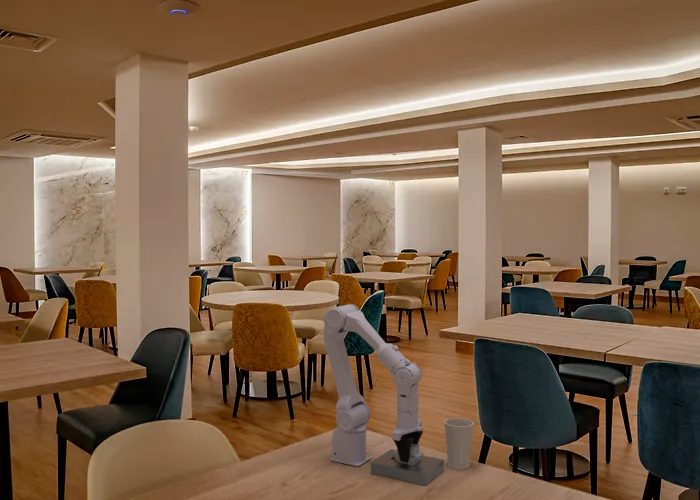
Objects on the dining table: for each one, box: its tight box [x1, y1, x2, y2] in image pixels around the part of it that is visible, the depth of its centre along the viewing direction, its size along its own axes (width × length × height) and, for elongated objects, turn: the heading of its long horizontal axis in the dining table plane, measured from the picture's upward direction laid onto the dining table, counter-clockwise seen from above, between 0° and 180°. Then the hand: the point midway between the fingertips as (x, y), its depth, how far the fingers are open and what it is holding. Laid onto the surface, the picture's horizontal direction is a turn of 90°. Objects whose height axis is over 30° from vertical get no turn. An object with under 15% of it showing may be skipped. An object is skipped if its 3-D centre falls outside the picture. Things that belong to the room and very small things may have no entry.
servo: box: [393, 444, 425, 466], centre depth 169 cm, size 8×3×6 cm, turn 59°
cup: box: [444, 417, 475, 470], centre depth 174 cm, size 8×8×12 cm
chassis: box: [370, 448, 445, 486], centre depth 169 cm, size 16×12×3 cm
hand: (407, 459), depth 169 cm, fingers closed on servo, 3 cm apart
